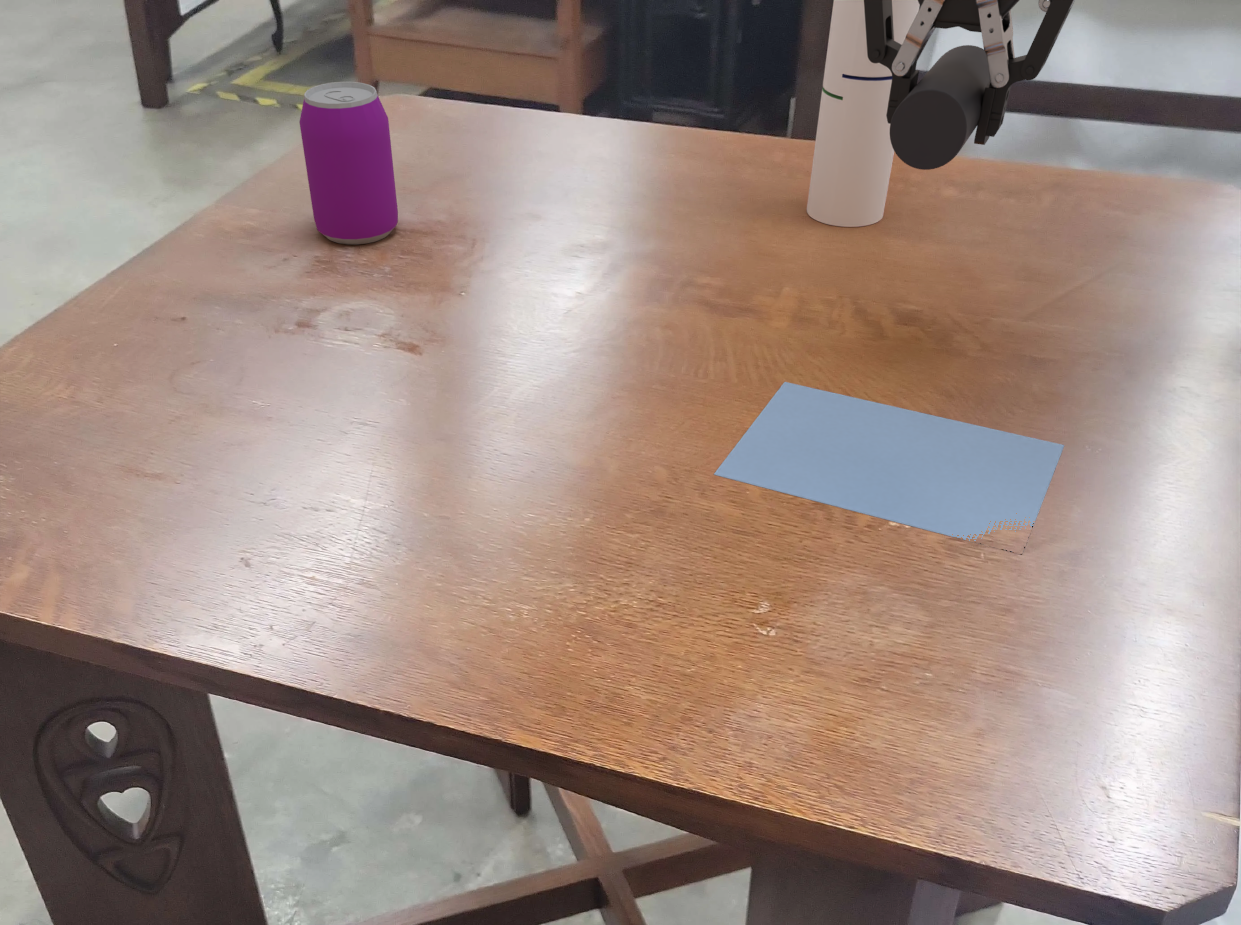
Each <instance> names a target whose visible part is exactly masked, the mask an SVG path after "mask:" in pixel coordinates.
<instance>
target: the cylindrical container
mask: <svg viewBox="0 0 1241 925" xmlns="http://www.w3.org/2000/svg"><path fill="white" fill-rule="evenodd" d="M919 9H920V4H919V2H918V0H892V11H893V30H894V41H896V42H898V43H899V44H901V45H902V44H903V42H904V40H905V38H906V35H907V33H908V31H909V29H910V27H911V25H912V23H913V21H914V19H915V17H916V15H917V13H918V11H919ZM831 11H832V12H831V19H830V26H829V32H828V33H829V35H828V41H827V42H828V43H827V51H826V57H825V65H824V72H823V80H822V89H821V95H820V104H819V110H818V118H817V125H816V126H817V127H816V135H815V142H814V151H813V157H812V164H811V173H810V181H809V189H808V195H807V204H806V213H807V215H808V216H809V217H810V218H811V219H813V220H815V221H817V222H819V223H822V224H826V225H830V226H834V227H835V226H836V227H841V228H843V227H845V228H857V227H859V228H860V227H865V226H866V227H867V226H871V225H873V224H876V223H878V222H880V221H881V220H882V219H883V218H884V213H885V207H886V201H887V196H888V190H889V183H890V179H891V172H892V169H893V168H892V167H893V160H894V155H895V151H894V149H893V147H892V144H891V141H890V124H889V123H888V121H887V116H886V114H887V108H888V102H889V96H890V89H891V83H892V73H891V71H890V70H889V68H887V67H886V66H884V65H882V64H880V63H872V62H871V61H870V60H869V59H868V55H867V41H866V26H865V11H864V0H833V3H832V10H831Z"/></svg>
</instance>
